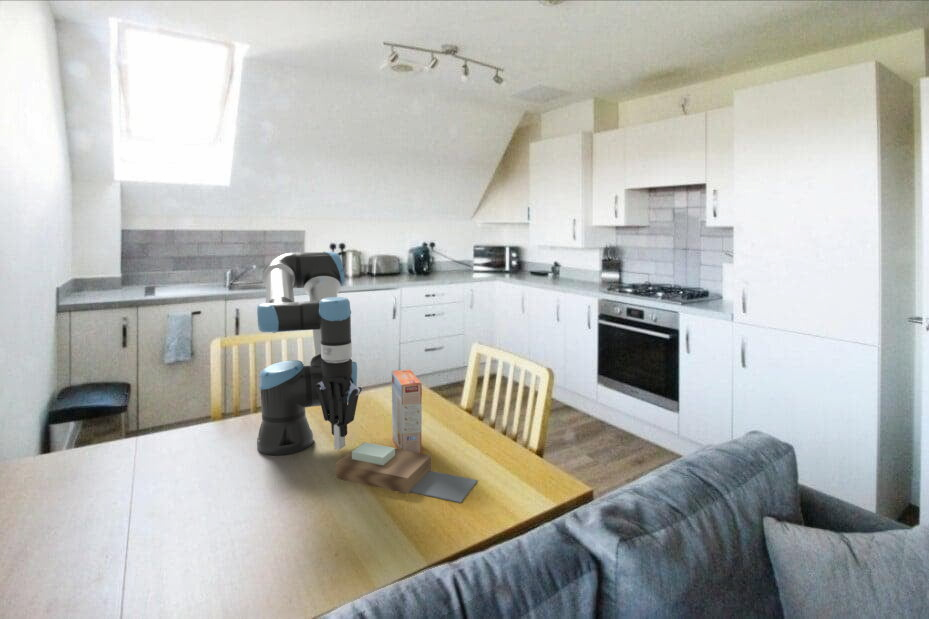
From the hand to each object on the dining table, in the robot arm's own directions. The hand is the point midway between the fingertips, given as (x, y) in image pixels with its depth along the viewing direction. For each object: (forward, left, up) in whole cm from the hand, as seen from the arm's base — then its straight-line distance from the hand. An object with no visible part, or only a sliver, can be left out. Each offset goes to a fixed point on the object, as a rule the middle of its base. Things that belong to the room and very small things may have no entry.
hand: (340, 447), depth 139 cm
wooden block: (+13, 0, -5) cm, 14 cm away
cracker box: (+11, +16, -5) cm, 20 cm away
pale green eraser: (+10, 0, -1) cm, 10 cm away
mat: (+29, 0, -5) cm, 30 cm away
